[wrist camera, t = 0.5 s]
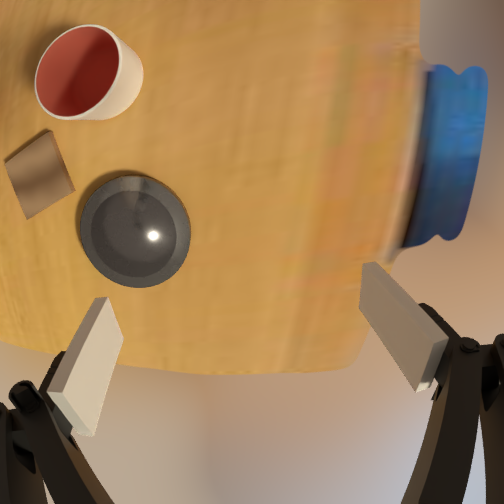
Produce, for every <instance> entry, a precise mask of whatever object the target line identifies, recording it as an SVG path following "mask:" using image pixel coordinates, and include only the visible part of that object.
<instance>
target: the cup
mask: <svg viewBox="0 0 504 504" xmlns="http://www.w3.org/2000/svg"><path fill="white" fill-rule="evenodd" d="M142 82H143V67H142V63H141V61H140V59H139V57H138V55H137V54H136V53H135V52H134V51H133V50H132V49H131V48H130V47H129V46H128V45H126V44H125V43H124V42H123V41H122V40H121V39H120V38H118V37H117V36H116V35H115V34H114V33H113V32H111V31H110V30H109V29H107V28H105V27H103V26H100V25H94V24H86V25H80V26H77V27H74V28H71V29H69V30H67V31H66V32H64V33H62V34H61V35H60V36H58V37H57V38H56V39H55V40H54V41H53V42H52V43H51V44H50V45H49V46H48V48H47V49H46V50H45V52H44V54H43V55H42V57H41V59H40V61H39V64H38V67H37V70H36V74H35V84H34V85H35V93H36V97H37V100H38V102H39V104H40V106H41V107H42V108H43V110H44V111H45V112H47V113H48V114H49V115H51V116H53V117H55V118H58V119H63V120H105V119H109V118H112V117H115V116H117V115H119V114H120V113H122V112H123V111H125V110H126V109H127V108H128V107H129V106H130V105H131V104H132V103H133V102H134V100H135V99H136V97H137V96H138V94H139V92H140V89H141V86H142Z"/></svg>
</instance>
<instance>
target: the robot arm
mask: <svg viewBox="0 0 504 504" xmlns="http://www.w3.org/2000/svg"><path fill="white" fill-rule="evenodd" d="M359 309H360V310H361V312H362V313H363V315H364V316H365V317H366V319H367V320H368V322H369V323H370V325H371V326H372V328H373V329H374V331H375V332H376V333H377V335H378V336H379V338H380V339H381V341H382V342H383V344H384V345H385V347H386V348H387V350H388V351H389V353H390V354H391V356H392V357H393V359H394V360H395V362H396V363H397V365H398V366H399V368H400V369H401V371H402V372H403V374H404V375H405V377H406V378H407V380H408V382H409V383H410V385H411V386H412V388H413V389H414V391H415V392H419V391H422V390H424V389H427V388H429V387H430V386H431V383H432V382H433V379H434V378H435V379H436V380H437V382H438V386H437V388H436V390H435V392H434V394H433V397H432V399H431V400H434V401H433V406H432V410H431V414H430V418H429V422H428V425H427V429H426V433H425V436H424V440H423V443H422V446H421V450H420V453H419V456H418V459H417V462H416V465H415V468H414V471H413V473H412V476H411V479H410V482H409V484H408V487H407V490H406V492H405V494H404V497H403V499H402V502H401V504H462V502H463V498H464V494H465V490H466V487H467V483H468V478H469V474H470V469H471V464H472V459H473V454H474V448H475V442H476V435H477V428H478V419H479V415H480V422H481V429H482V438H483V447H484V459H485V474H486V475H485V476H486V504H504V334H499V335H497V336H496V338H495V340H494V342H493V344H488V345H480V344H479V343H478V342H477V341H476V340H474V339H471V338H468V337H462V338H461V337H460V336H459V335H458V334H457V333H456V332H455V331H454V330H453V328H452V327H451V326H450V325H449V324H448V323H447V322H446V321H444V320H443V318H442V317H441V316H440V315H438V313H437V312H436V311H435V310H434V309H433V308H432V307H430V306H428V305H427V304H425V303H420V304H417V303H416V302H415V301H414V300H413V299H412V298H411V297H410V296H409V295H408V294H407V292H406V291H405V290H404V289H403V288H402V287H401V286H400V285H399V284H398V283H397V282H396V281H395V280H394V279H393V278H392V277H391V276H390V275H389V274H388V273H387V272H386V271H385V270H384V269H383V268H382V267H381V266H380V265H378V264H377V263H376V262H370V263H364V264H363V267H362V280H361V291H360V301H359ZM123 340H124V338H123V336H122V333H121V330H120V328H119V325H118V323H117V320H116V317H115V315H114V312H113V309H112V306H111V304H110V301H109V298H108V297H102V298H95V300H94V302H93V303H92V305H91V307H90V308H89V310H88V312H87V314H86V315H85V317H84V319H83V321H82V323H81V324H80V326H79V328H78V330H77V332H76V334H75V335H74V337H73V339H72V341H71V343H70V345H69V347H68V349H67V351H61V352H60V353H59V354H58V355H57V356H56V357H55V358H54V360H53V362H52V364H51V368H49V370H48V372H47V374H46V376H45V378H44V380H43V382H42V384H41V386H40V388H39V390H37V389H36V388H35V386H34V385H33V383H32V382H31V381H28V380H26V381H24V380H23V381H21V382H18V383H17V384H15V385H14V386H13V387H12V388H11V390H10V392H9V399H10V401H11V402H12V403H13V405H14V406H15V407H16V409H11V410H8V409H7V407H6V406H5V405H4V404H3V403H1V402H0V504H48V502H47V498H46V493H45V488H44V483H43V480H44V482H45V484H46V486H47V488H48V491H49V493H50V495H51V497H52V499H53V501H54V503H55V504H114V502H113V501H112V500H111V498H110V497H109V495H108V494H107V492H106V491H105V489H104V488H103V486H102V485H101V483H100V482H99V480H98V479H97V477H96V476H95V474H94V472H93V471H92V469H91V467H90V466H89V464H88V462H87V461H86V459H85V457H84V455H83V454H82V452H81V450H80V448H79V447H78V445H77V443H76V441H75V439H74V438H73V436H72V435H71V434H70V433H71V430H72V427H73V428H74V429H75V430H76V432H77V433H78V434H79V435H85V436H94V435H95V431H96V427H97V424H98V420H99V416H100V413H101V409H102V406H103V402H104V399H105V396H106V392H107V389H108V386H109V382H110V379H111V376H112V373H113V370H114V367H115V364H116V361H117V358H118V355H119V352H120V349H121V346H122V343H123Z"/></svg>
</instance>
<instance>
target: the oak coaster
mask: <svg viewBox="0 0 504 504" xmlns="http://www.w3.org/2000/svg"><path fill="white" fill-rule="evenodd" d="M5 167H6V169H7V172H8V175H9V177H10V180H11V183H12V185H13V188H14V190H15V193H16V195H17V198H18V200H19V202H20V205H21V207H22V209H23V212H24V214H25V216H26V218H27V220H28V219H29V218H31V217H32V216H34V215H36V214H37V213H39V212H40V211H42V210H44V209H45V208H47V207H48V206H50V205H52V204H53V203H55V202H57V201H58V200H60V199H62V198H64V197H65V196H67V195H69V194H70V193H72V192H74V191H76V190H75V188H74V186H73V183H72V181H71V179H70V176H69V174H68V171H67V169H66V166H65V164H64V161H63V159H62V156H61V154H60V151H59V148H58V146H57V143H56V140H55V138H54V135H53V132H52V131H51V132H47V133H46V134H44V135H43V136H41V137H40V138H38V139H37V140H36V141H34V142H33V143H31V144H30V145H29V146H27V147H26V148H25V149H23V150H22V151H21V152H19V153H18V154H17V155H15V156H14V157H13V158H12V159H10V160H9V161H8V162H7V163H5Z"/></svg>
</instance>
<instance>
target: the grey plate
mask: <svg viewBox="0 0 504 504" xmlns="http://www.w3.org/2000/svg"><path fill="white" fill-rule="evenodd" d="M80 234H81V240H82V244H83V247H84V250H85V252H86V255H87V257H88V258H89V260H90V261H91V263H92V264H93V265H94V267H95V268H96V269H97V270H98V271H99V272H100V273H101V274H103V275H104V276H105V277H107V278H108V279H110V280H111V281H113V282H115V283H118V284H120V285H123V286H128V287H134V288H145V287H151V286H154V285H158V284H160V283H162V282H164V281H166V280H167V279H169V278H170V277H172V276H173V275H174V274H175V273H176V272H177V271H178V270H179V268H180V267H181V265H182V264H183V262H184V260H185V258H186V256H187V253H188V250H189V245H190V240H191V225H190V220H189V216H188V213H187V211H186V209H185V207H184V205H183V203H182V201H181V200H180V198H179V197H178V196H177V195H176V194H175V193H174V191H172V190H171V189H170V188H169V187H168V186H166V185H165V184H163V183H162V182H160V181H158V180H156V179H153V178H150V177H147V176H142V175H126V176H122V177H118V178H115V179H113V180H111V181H109V182H107V183H106V184H104V185H102V186H101V187H100V188H98V189H97V190H96V191H95V192H94V193H93V194H92V195H91V197H90V198H89V200H88V201H87V203H86V205H85V207H84V210H83V213H82V216H81V222H80Z"/></svg>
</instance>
